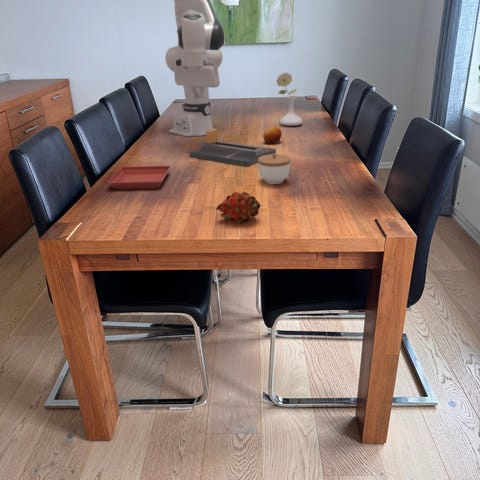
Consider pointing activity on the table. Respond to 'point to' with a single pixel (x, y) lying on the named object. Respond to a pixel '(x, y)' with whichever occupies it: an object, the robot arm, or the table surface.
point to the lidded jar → (274, 168)
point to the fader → (212, 136)
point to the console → (231, 153)
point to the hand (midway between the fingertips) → (198, 98)
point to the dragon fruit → (239, 207)
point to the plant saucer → (139, 177)
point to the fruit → (272, 135)
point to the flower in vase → (290, 117)
